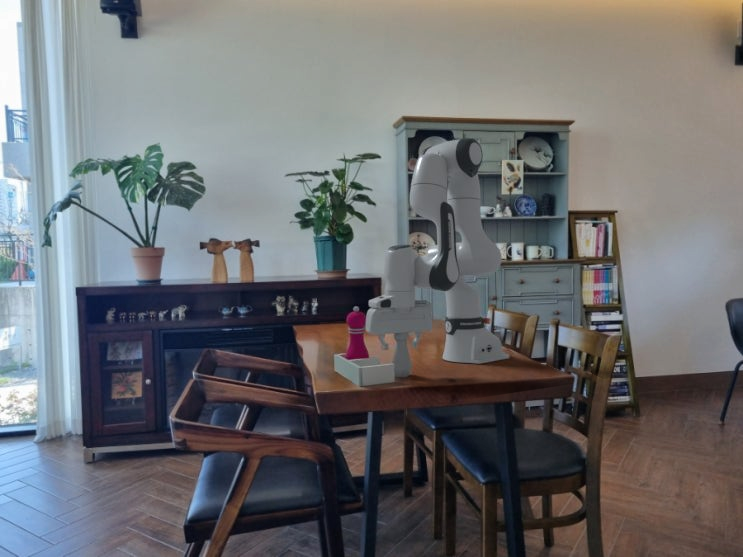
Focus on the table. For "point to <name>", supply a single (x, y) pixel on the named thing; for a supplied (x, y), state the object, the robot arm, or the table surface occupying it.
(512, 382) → the table surface
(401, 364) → the salt shaker
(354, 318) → the pepper mill
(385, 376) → the condiment rack
